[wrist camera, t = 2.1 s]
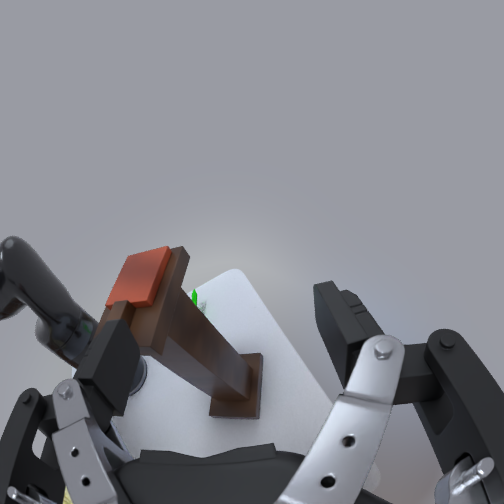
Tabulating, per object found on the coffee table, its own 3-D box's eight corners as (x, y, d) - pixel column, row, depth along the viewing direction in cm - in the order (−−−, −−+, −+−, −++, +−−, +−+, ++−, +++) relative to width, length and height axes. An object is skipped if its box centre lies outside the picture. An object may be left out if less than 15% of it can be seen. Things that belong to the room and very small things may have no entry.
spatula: (112, 459, 11) (98, 455, 10) (69, 438, 12) (57, 433, 12) (172, 251, 24) (165, 242, 23) (132, 261, 25) (125, 252, 24)
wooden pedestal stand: (259, 419, 32) (150, 346, 17) (213, 417, 34) (90, 344, 19) (263, 356, 39) (182, 245, 24) (221, 359, 41) (127, 259, 26)
